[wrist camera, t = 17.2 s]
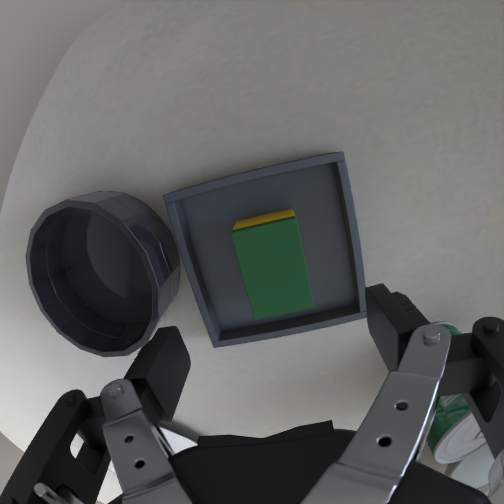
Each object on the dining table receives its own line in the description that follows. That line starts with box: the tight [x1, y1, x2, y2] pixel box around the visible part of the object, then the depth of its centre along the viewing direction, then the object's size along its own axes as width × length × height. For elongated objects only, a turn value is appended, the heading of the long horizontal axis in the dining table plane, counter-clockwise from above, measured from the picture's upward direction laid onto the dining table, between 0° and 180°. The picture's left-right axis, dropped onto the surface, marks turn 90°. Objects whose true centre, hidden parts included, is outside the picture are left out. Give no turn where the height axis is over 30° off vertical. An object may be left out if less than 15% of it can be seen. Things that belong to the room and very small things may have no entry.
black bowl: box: [26, 191, 180, 357], centre depth 21 cm, size 12×12×5 cm
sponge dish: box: [163, 152, 367, 348], centre depth 21 cm, size 12×12×2 cm
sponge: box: [230, 209, 314, 319], centre depth 20 cm, size 6×4×4 cm, turn 14°
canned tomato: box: [427, 322, 487, 464], centre depth 19 cm, size 8×8×11 cm
